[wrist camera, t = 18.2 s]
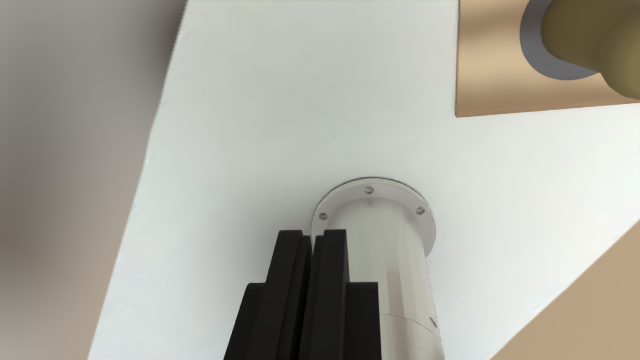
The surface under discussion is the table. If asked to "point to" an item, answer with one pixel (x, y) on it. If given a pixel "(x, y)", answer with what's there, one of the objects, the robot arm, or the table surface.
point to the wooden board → (518, 64)
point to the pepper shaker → (597, 39)
